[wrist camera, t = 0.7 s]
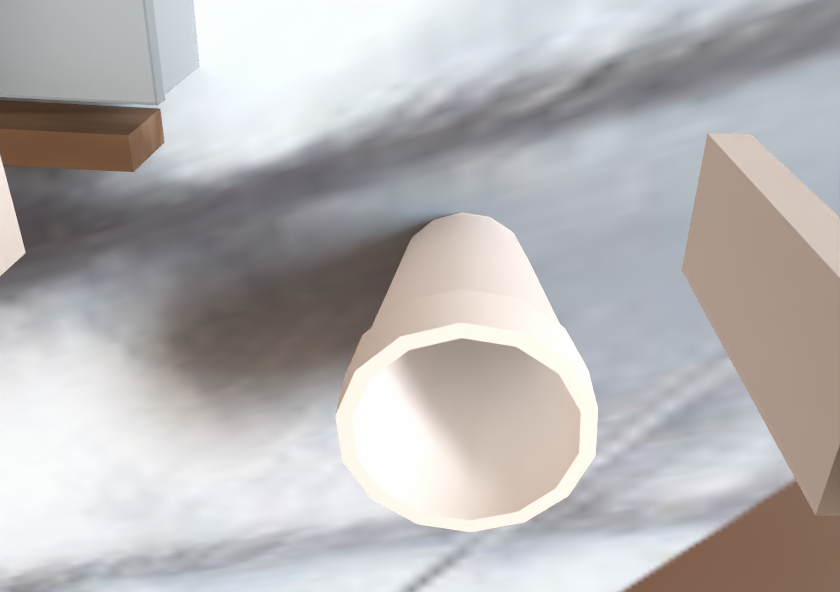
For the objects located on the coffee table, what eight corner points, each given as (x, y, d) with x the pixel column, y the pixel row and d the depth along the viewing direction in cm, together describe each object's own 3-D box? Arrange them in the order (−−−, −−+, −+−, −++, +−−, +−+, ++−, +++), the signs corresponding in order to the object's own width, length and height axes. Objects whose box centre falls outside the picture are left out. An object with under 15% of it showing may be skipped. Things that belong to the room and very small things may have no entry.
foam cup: (507, 372, 43) (525, 559, 31) (346, 313, 41) (303, 487, 30) (590, 223, 38) (647, 378, 27) (413, 152, 37) (393, 283, 25)
